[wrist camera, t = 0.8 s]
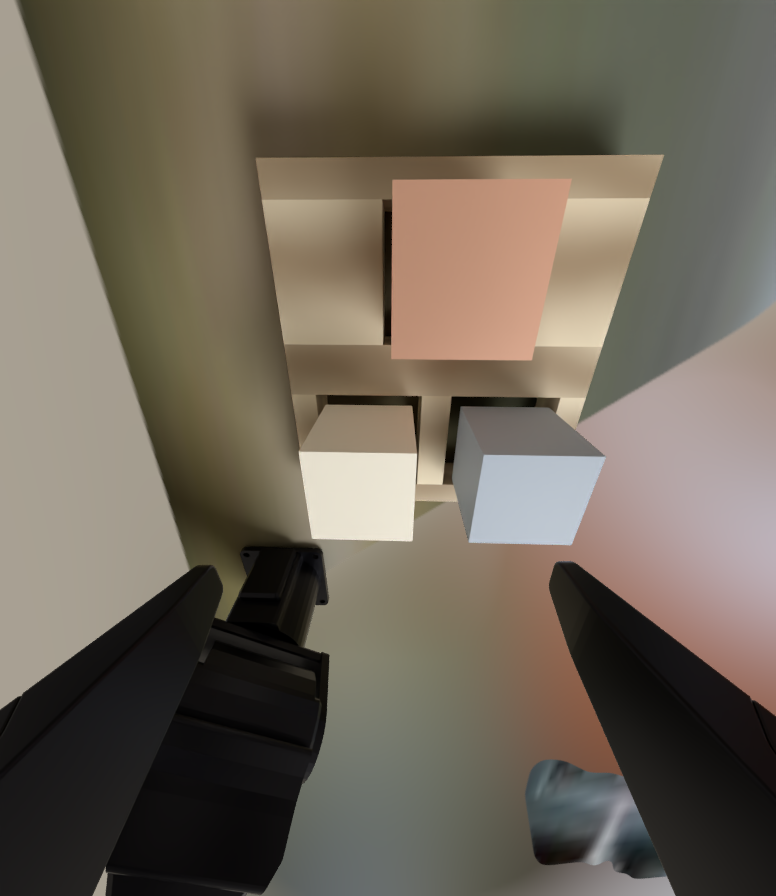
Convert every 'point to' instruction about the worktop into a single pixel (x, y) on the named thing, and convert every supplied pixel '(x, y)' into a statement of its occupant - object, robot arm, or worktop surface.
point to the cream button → (361, 473)
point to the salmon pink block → (472, 265)
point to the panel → (363, 286)
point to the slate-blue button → (522, 475)
